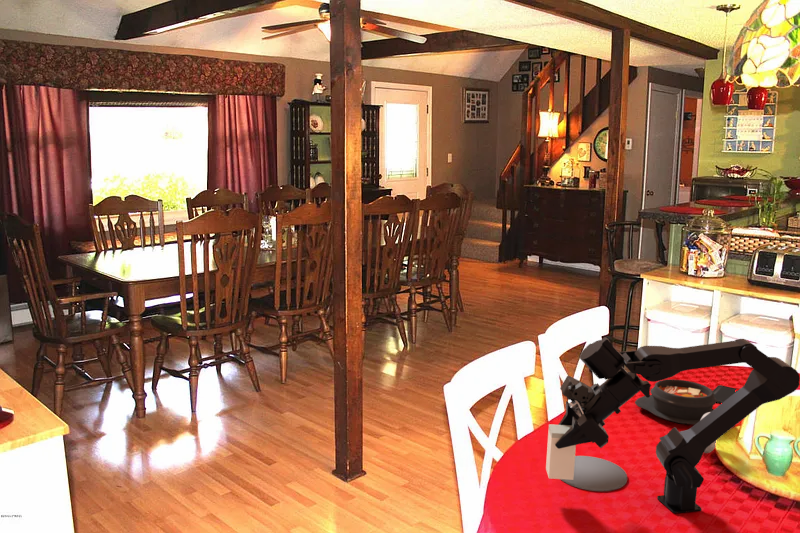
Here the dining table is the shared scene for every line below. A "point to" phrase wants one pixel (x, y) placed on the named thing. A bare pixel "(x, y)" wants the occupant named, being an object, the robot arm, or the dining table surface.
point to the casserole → (678, 401)
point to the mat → (596, 474)
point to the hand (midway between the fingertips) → (554, 441)
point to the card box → (559, 454)
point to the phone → (723, 393)
